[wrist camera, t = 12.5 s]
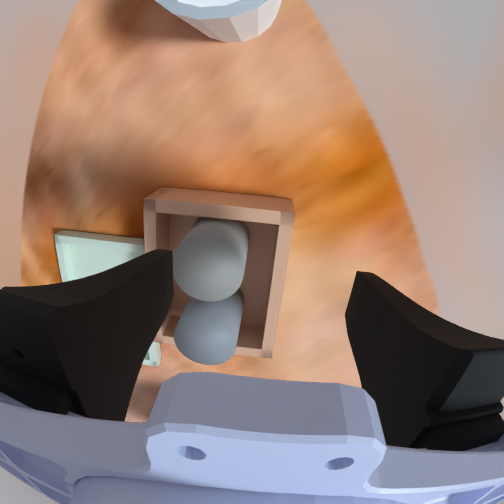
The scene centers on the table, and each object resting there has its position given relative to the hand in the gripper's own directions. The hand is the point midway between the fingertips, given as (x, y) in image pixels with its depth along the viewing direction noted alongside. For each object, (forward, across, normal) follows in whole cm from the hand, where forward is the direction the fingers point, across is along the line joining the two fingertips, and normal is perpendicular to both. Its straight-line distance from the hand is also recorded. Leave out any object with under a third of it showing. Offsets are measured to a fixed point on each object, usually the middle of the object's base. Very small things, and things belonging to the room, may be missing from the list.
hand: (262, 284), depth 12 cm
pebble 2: (+9, +3, +7) cm, 12 cm away
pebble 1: (+9, +3, +2) cm, 10 cm away
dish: (+10, +3, +4) cm, 11 cm away
